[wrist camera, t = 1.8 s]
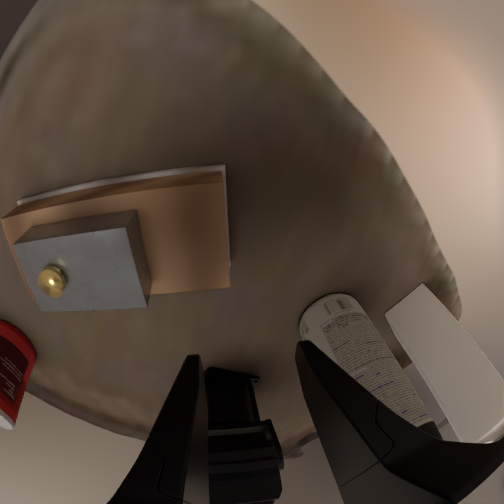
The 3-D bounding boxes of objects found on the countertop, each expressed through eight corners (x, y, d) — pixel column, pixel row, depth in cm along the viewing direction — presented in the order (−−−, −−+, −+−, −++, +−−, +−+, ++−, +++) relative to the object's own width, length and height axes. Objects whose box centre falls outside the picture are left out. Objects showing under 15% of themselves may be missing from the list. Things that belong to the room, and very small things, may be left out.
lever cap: (136, 208, 14) (121, 233, 11) (152, 281, 17) (145, 315, 14) (31, 226, 13) (6, 250, 10) (54, 288, 16) (38, 318, 13)
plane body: (224, 164, 17) (229, 176, 14) (230, 262, 21) (235, 290, 18) (21, 198, 15) (-3, 216, 12) (48, 278, 19) (32, 303, 16)
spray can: (283, 329, 26) (351, 527, 9) (329, 279, 24) (446, 488, 6) (327, 344, 28) (396, 503, 11) (369, 302, 26) (467, 463, 9)
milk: (393, 334, 31) (472, 470, 12) (383, 312, 28) (478, 473, 9) (429, 306, 29) (516, 432, 11) (423, 280, 26) (532, 425, 8)
